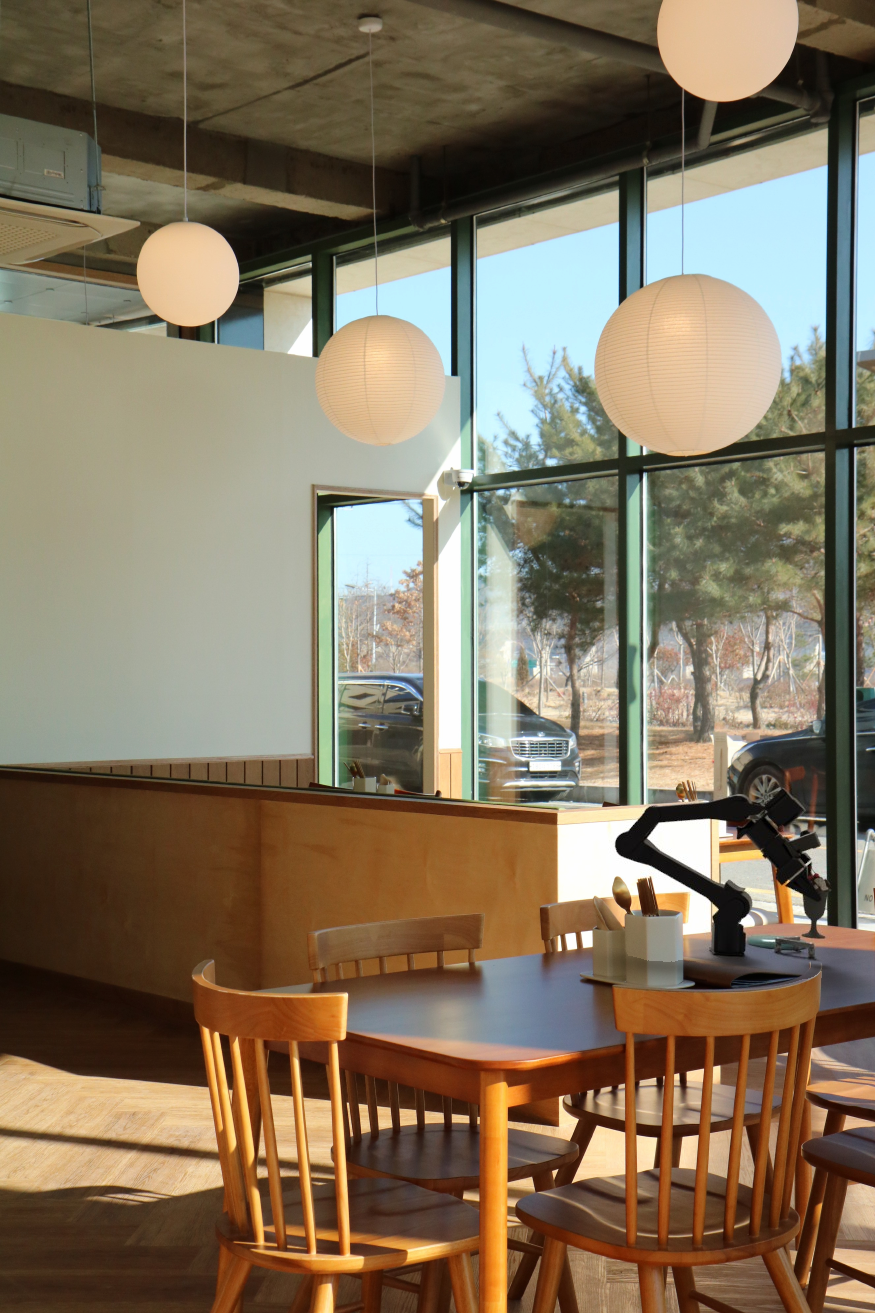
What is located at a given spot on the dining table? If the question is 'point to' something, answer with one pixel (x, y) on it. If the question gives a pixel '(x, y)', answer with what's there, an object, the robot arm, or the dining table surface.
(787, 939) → the jointed flat metal bars
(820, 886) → the sundae
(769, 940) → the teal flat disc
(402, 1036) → the dining table surface
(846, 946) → the dining table surface
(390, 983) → the dining table surface
